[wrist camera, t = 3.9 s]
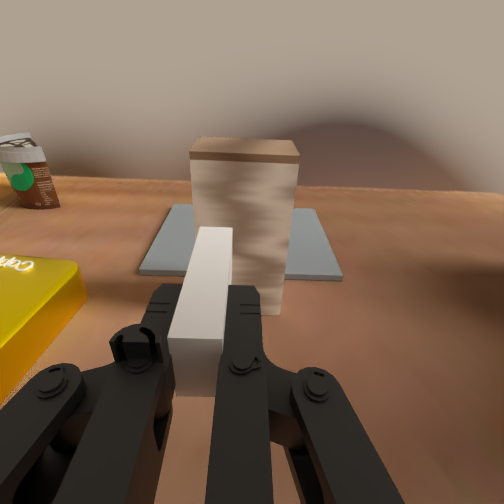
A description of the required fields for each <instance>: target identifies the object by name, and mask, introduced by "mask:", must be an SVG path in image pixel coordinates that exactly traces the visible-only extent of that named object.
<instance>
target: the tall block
mask: <svg viewBox="0 0 504 504" xmlns="http://www.w3.org/2000/svg"><path fill="white" fill-rule="evenodd" d="M189 153H190V168H191V182H192V196H193V210H194V224H195V238H197V235H198V232H199V228H200V226H202V227H229V228H233V232H232V280H231V285H252V286H255V288H256V289H257V291H258V292H259V294H260V307H261V315H279V316H280V308H281V301H282V293H283V285H284V277H285V269H286V262H287V254H288V246H289V238H290V230H291V223H292V215H293V207H294V199H295V191H296V183H297V176H298V167H299V160H300V155H299V153H298V151H297V149H296V147H295V146H294V144H293V142H292V141H290V140H266V139H243V138H220V137H199V138H198V140H197V141H196V142H195V144H194V145H193V147H192V148H191V150H190V151H189Z"/></svg>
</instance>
